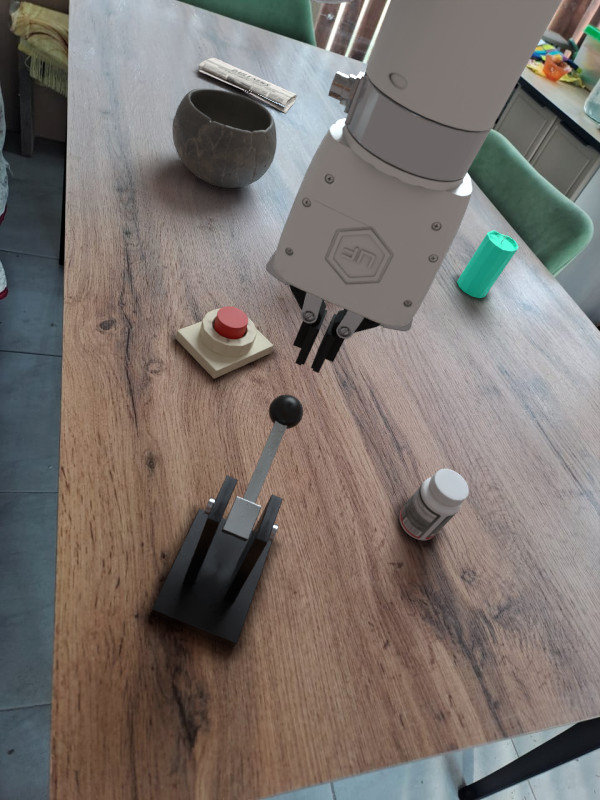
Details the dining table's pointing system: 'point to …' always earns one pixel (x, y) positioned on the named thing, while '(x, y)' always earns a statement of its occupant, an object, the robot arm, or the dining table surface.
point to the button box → (222, 346)
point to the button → (230, 322)
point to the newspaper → (248, 83)
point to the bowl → (224, 137)
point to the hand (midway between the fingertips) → (311, 356)
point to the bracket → (216, 572)
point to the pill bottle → (433, 504)
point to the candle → (487, 264)
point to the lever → (262, 467)
